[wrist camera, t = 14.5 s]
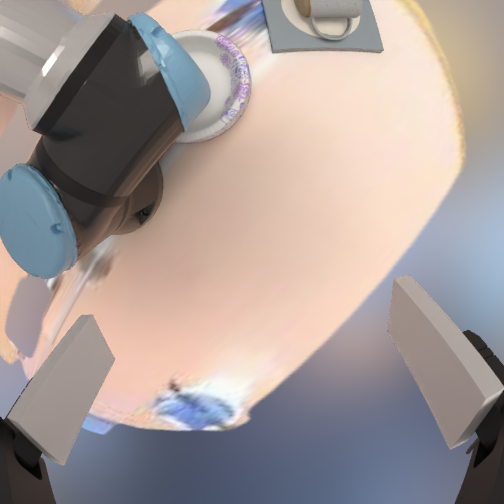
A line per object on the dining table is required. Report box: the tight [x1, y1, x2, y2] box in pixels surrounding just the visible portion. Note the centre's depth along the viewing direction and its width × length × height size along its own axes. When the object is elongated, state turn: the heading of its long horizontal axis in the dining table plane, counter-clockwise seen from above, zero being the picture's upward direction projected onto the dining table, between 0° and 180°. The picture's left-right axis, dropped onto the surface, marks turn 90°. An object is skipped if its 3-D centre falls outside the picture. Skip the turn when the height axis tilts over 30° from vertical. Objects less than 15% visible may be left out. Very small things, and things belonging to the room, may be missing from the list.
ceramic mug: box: [294, 0, 363, 40], centre depth 25 cm, size 11×8×8 cm
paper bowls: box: [171, 30, 251, 143], centre depth 31 cm, size 15×15×8 cm
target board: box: [262, 0, 384, 53], centre depth 28 cm, size 17×15×2 cm
